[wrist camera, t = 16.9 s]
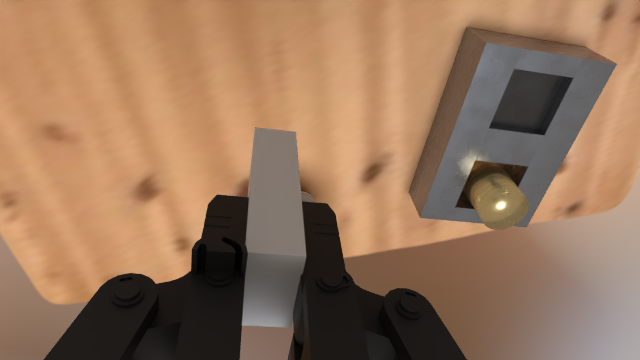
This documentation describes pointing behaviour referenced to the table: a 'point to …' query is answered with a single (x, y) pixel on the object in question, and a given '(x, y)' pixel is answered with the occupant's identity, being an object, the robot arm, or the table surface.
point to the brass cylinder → (495, 195)
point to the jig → (506, 118)
